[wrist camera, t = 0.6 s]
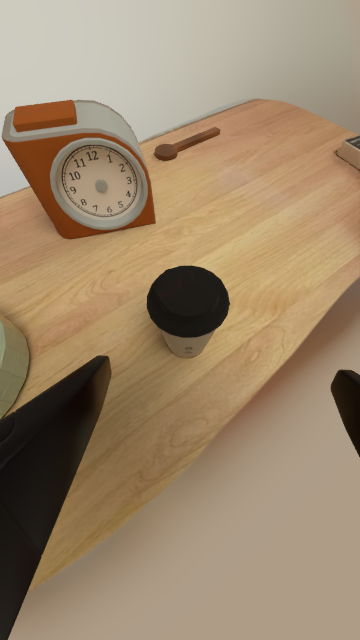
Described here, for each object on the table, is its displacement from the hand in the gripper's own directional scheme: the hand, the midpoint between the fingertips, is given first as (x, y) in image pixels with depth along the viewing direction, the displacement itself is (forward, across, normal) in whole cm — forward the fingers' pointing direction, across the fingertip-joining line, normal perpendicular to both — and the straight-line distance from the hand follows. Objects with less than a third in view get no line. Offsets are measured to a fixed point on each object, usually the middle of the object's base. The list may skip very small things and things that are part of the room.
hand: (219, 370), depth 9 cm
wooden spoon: (+51, +3, -14) cm, 53 cm away
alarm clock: (+33, +16, -2) cm, 36 cm away
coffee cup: (+15, +2, +9) cm, 18 cm away
